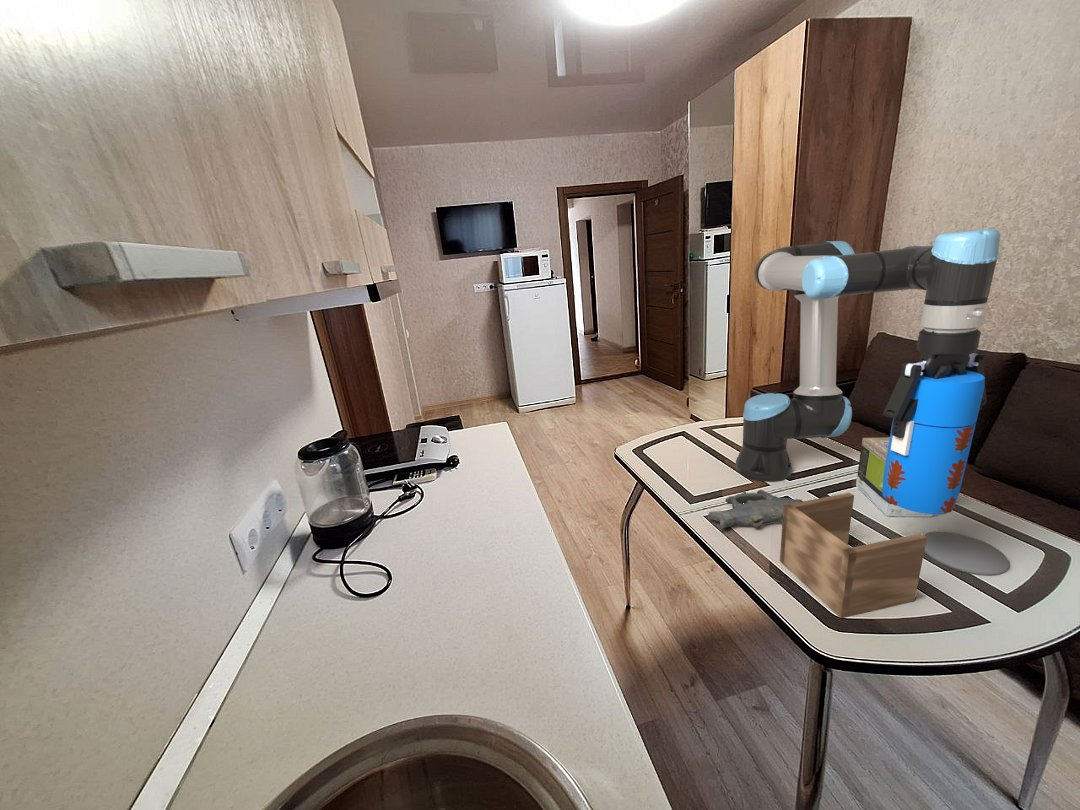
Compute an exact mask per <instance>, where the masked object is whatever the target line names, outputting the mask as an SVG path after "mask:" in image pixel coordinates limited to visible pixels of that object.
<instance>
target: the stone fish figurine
mask: <svg viewBox="0 0 1080 810" xmlns="http://www.w3.org/2000/svg"><path fill="white" fill-rule="evenodd" d="M725 502H726V503H728V504H730V505H731V504H732V505H731V506H732V508H731V509H729V510H715V511H709V512H708V514H707V515H708V518H709V519H710V520H713V521H715V522H719V527H720V529H726V528H729V527H730V526H734V525H739V526H753V528H758V527H760V526H761V525H768V524H773V523H776V522H779V523H780V524H782V523H783V509H784V505H788V504H793V503H798V502H803V499H797V498H796V499H794V498H789V497H788V498H787V497H778V496H777V495H773V494H771V493H769V492H767V491H765V490H763V489H759V490H758V491H757V492H746V491H743V492H741V493H737V494H736V495H731V496H728V497H727V498H725ZM743 503H744V504H743Z"/></svg>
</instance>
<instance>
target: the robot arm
mask: <svg viewBox="0 0 1080 810" xmlns="http://www.w3.org/2000/svg"><path fill="white" fill-rule="evenodd" d="M934 240H935V241H934V243H933V245H912V246H910V245H909V246H903V247H899V248H894V249H886V250H879V251H870V252H860V253H855V251H854V249H853V247H852V246H851V245H850V244H849V243H848V242H846V241H843V240H834V241H829V240H827V241H819V242H815V243H813V242H812V243H808V244H800V245H792V246H790V245H789V246H784V247H783V246H782V247H779V248H776V249H773V250H771V251H769V252H767V253H766V254H765V255H763V256H762V257H761V258H760V259H759V260H758V262H757V263H756V265H755V267H754V273H753V275H754V280H755V282H756V284H757V285H758V286H759V287H761V288H762V289H764V290H768V291H774V292H775V291H777V292H779V291H780V292H781V291H784V292H785V291H794V298H796V300H797V301H799V302H800V326H799V327H800V330H799V331H800V332H799V334H800V336H799V340H800V341H799V346H800V347H799V386H798V387H797V388H795V390H793V398H790V397H789V396H788V395H786V394H783V393H778V392H776V393H775V392H768V393H761V394H757V395H755V396H751V397H750V398H748V399H747V400H746V401H745V403H744V408H743V413H742V418H743V425H742V426H743V427H742V445H741V448H740V450H739V452H738V456H737V458H736V459H735V469H736V471H737V473H739V474H740V475H741V476H743V477H745V478H748V479H751V480H755V481H759V482H779V481H784V480H787V479H788V478H791V476H792V470H793V467H792V465H793V464H792V462H791V459H790V455H789V453H788V450H787V442H788V440H790V439H791V440H794V439H814V438H815V439H816V438H817V439H818V438H819V439H820V438H821V439H826V438H835V437H839V436H842V435H844V433H845V432H847V431H848V429H849V427H850V425H851V422H852V418H853V408H852V406H851V404H852V403H851V401H850V400H849V398H847V397H846V396H843V391H842V390H841V389H840V388H839V387H838V386H837V351H838V347H837V346H838V314H839V313H838V312H839V298H840V297H844V296H845V297H846V296H853V295H862V294H863V295H864V294H873V293H874V294H876V293H885V292H895V291H907V290H919V291H921V290H922V291H925V298H924V302H923V306H922V307H923V308H922V313H921V317H920V324H919V326H920V327H921V328H922V329H921V330H919V331H918V332H919V333H918V337H917V343H916V349H917V351H918V352H919V353H920V358H919V359H918V362H916V363H909V362H904V363H902V364H901V368H900V375H899V377H898V380H897V382H896V385H895V386H894V389H893V391H892V393H891V395H890V397H889V399H888V402H887V404H886V406H885V408H884V411H883V413H882V415H883V416H884V417H887V418H890V419H892V422H893V427H892V426H891V428H892V435H893V438H892V445H891V450H892V451H895V452H897V453H900V454H902V455H904V456H906V455H909V449H910V443H911V438H912V432H913V426H914V421H911V420H910V419H911V418H912V416H913V415H914V414H915V412H916V410H917V404H918V399H915V400H914V399H911V397H912V395H913V393H914V391H915V388H916V386H917V384H918V382H919V379H920V375H922V376H924V377H929V378H933V379H941V378H944V377H945V376H951V375H966V374H967V373H966V370H968V371H972V372H976V373H979V374H981V375H983V376H984V377H985V369H984V368H985V367H984V366H985V361H986V357H987V356H986V354H981V353H976V352H977V351H978V348H979V344H980V339H981V334H982V332H981V331H980V329H978V328H980V327H982V326H983V322H984V317H985V313H986V308H987V302H988V299H989V298H988V297H990V292H991V286H992V284H993V280H994V279H993V278H994V274H995V270H996V265H997V261H998V259H999V257H1000V253H999V249H1000V248H999V247H1000V241H1001V232H1000V231H999V230H998V229H996V228H984V229H982V228H981V229H976V230H975V229H973V230H963V231H955V232H954V231H953V232H946V233H942V234H939V235H937V236H936V238H935V239H934ZM987 401H988V399H987V391H986V384H985V385H984V392H983V396H982V400H981V404H980V408H979V412H980V411H981V410H982V408H983V406H985V405H986V403H987ZM904 412H905V414H904Z"/></svg>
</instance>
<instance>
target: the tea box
mask: <svg viewBox="0 0 1080 810" xmlns="http://www.w3.org/2000/svg"><path fill="white" fill-rule="evenodd" d="M889 440H890V436H889V437H888V436H887V437H862V440H861V441H862V442H861V447H860V454H859V462H858V468H857V474H856V484H855V486H856V488H857V489H858V490H859V491H860V492H861V493H863V494H864V495H865V497H867V498H868V499H869V500H870V501H871V502H872V503H873V504H874V506H876V507H877V508H878V509H879V510H880V511H881V512H882V513H883V514H884V516H886V517H896V518H897V517H900V518H901V517H902V518H904V517H905V518H906V517H908V518H910V517H912V518H932V517H933V516H934V514H925V513H918V512H914V511H910V510H906V509H904V508H901V507H899V506H896V505H894V504H893V503H891V502H889V501H888V500H887V499H886V498H885V497H884V496H883V493H882V488H883V477H884V470H885V464H886V458H887V452H888V446H889Z"/></svg>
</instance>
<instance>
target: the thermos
mask: <svg viewBox="0 0 1080 810" xmlns="http://www.w3.org/2000/svg"><path fill="white" fill-rule="evenodd" d="M966 373H967V374H966V375H951V376H945V377H944V378H941V379H933V378H929V377H924V376H922V375H920V379H919V382H918V384H917V386H916V388H915V391H914V393H913V395H912V397H911V399H914V400H915V399H918V404H917V410H916V412H915V414H914V415H913V416H912V418H911V419H910V420H911V421H914V426H913V432H912V438H911V443H910V449H909V455H906V456H904V455H902V454H900V453H897V452H895V451H892V450H891V445H892V438H893V435H892V427H893V421H892V423H891V428H890V436H889V437H890V440H889V446H888V452H887V458H886V464H885V470H884V477H883V488H882V493H883V496H884V497H885V498H886V499H887V500H888V501H889V502H891V503H893V504H894V505H896V506H899V507H901V508H904V509H906V510H910V511H914V512H918V513H925V514H933V515H945V514H948V513H951V512H953V510H955V507H956V503H957V500H958V499H959V495H960V491H961V487H962V485H963V479H964V475H965V471H966V467H967V463H968V458H969V455H970V452H971V451H970V450H971V446H972V440H973V437H974V433H975V429H976V425H977V422H978V421H977V420H978V416H979V412H980V411H979V408H980V406H981V405H980V404H981V400H982V396H983V392H984V385H985V386H986V377H985V375H984V376H983V375H981V374H979V373H976V372H972V371H968V370H966ZM904 414H905V412H904Z"/></svg>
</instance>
